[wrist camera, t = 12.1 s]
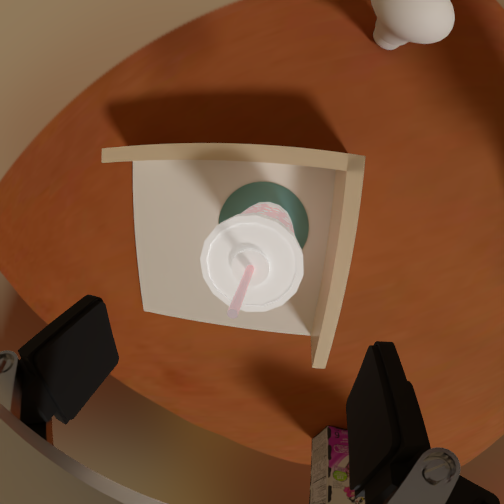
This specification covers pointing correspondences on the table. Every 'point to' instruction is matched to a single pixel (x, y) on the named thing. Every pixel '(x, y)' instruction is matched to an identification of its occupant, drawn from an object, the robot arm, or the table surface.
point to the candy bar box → (331, 469)
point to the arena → (235, 202)
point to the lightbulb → (411, 21)
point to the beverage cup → (253, 259)
